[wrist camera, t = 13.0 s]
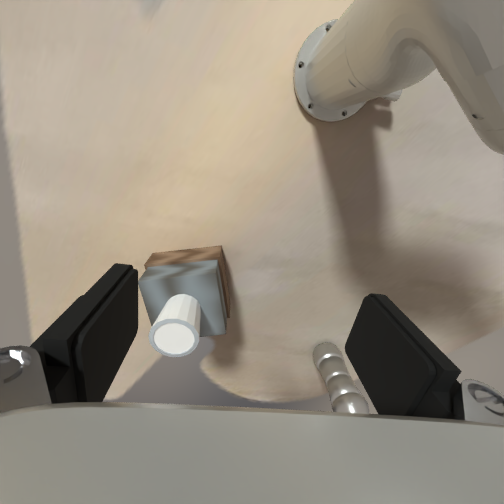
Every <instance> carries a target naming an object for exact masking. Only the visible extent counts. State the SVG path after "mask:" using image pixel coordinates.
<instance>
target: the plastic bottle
mask: <svg viewBox="0 0 504 504" xmlns="http://www.w3.org/2000/svg"><path fill="white" fill-rule="evenodd" d="M313 359H314V363H315V365H316V367H317V368H318V370H319V371H320V373H321V375H322V377H323V379H324V381H325V383H326V386H327V389H328V392H329V396H330V400H331V405H332V409H333V412H344V413H361V414H369V407H368V403H367V401H366V400H365V398H364V397H363V395H362V394H361V392H360V391H359V390H358V388H357V387H356V385H355V383H354V381H353V380H352V378H351V376H350V375H349V372H348V370H347V367H346V365H345V362H344V358H343V355H342V352H341V351H340V350H339V348H338V347H337V346H336V345H334V344H331V343H322V344H319V345H318V346H317V347H316V348H315V349H314V352H313Z"/></svg>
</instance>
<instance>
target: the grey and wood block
mask: <svg viewBox="0 0 504 504" xmlns="http://www.w3.org/2000/svg"><path fill="white" fill-rule="evenodd" d="M144 266H145V269H146V271H145V272H144V274H143V275H142V276H141V278H140V279H139V281H138V284H139V287H140V291H141V294H142V297H143V300H144V303H145V306H146V310H147V313H148V316H149V319H150V322H151V326H153V324H154V323H155V321H156V319H157V318H158V316H159V314H160V313H161V311H162V309H163V308H164V306H165V304H166V303H167V301H168V300H169V299H170V298H171V297H173V296H175V295H178V294H186V295H189V296H192V297H194V298H195V299H196V300H197V301H198V303H199V304H200V309H201V314H200V335H199V337H204V336H212V335H221V334H226V322H227V318H230V299H229V292H228V286H227V279H226V273H225V266H224V259H223V253H222V246H214V247H205V248H196V249H187V250H178V251H169V252H160V253H153V254H152V255H151V256H150V258H149V259H148V260H147V262H146V263H145V265H144Z"/></svg>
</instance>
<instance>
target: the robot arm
mask: <svg viewBox="0 0 504 504" xmlns="http://www.w3.org/2000/svg"><path fill="white" fill-rule="evenodd" d="M325 29H327V30H328V32H326V30H325ZM299 65H301V68H299V67H298V66H299ZM436 68H437V69H438V71H439V73H440V75H441V76H442V78H443V80H444V81H446V82H447V84H448V86H449V87H450V89H451V91H452V93H453V94H454V96H455V98H456V99H457V101H458V103H459V105H460V106H461V108H462V110H463V112H464V113H465V115H466V117H467V118H468V120H469V122H470V123H471V125H472V126H473V128H474V130H475V131H476V133H477V134H478V136H479V137H480V138H481V140H482V141H483V142H484V143H485V144H486V145H487V146H488V147H489V148H490V149H492V150H493V151H495V152H497V153H500V154H503V155H504V0H354V1H353V3H352V4H351V5H350V6H349V7H348V8H347V10H346V11H345V12H344V13H343V14H342V16H341V17H340V18H339V19H335V20H331V21H329V22H326V23H324V24H322V25H321V26H319V27H318V28H316V29H315V30H314V31H313V32H312V33H311V34H310V35H309V36H308V38H307V39H306V40H305V42H304V43H303V45H302V47H301V48H300V51H299V53H298V56H297V58H296V62H295V66H294V75H293V80H294V89H295V92H296V96H297V98H298V100H299V103H300V104H301V106H302V107H303V109H304V110H305V111H306V112H307V113H308V114H309V115H311V116H312V117H314V118H316V119H318V120H321V121H327V122H333V121H339V120H343V119H346V118H348V117H350V116H352V115H353V114H355V113H356V112H357V111H358V110H359V109H360V108H361V107H362V106H364V104H365V103H366V102H367V101H368V100H371V99H376V98H377V97H381V98H383V99H385V100H390V101H394V102H395V101H397V100H398V99H399V97H400V96H401V93H402V89H405V88H407V87H410V86H412V85H414V84H416V83H418V82H419V81H421V80H422V79H424V78H425V77H426V76H428V75H429V74H430V73H431V72H432V71H434V70H435V69H436ZM309 105H310V106H311V108H310V109H309V108H308V106H309ZM342 112H343V113H344V115H343V116H342ZM137 330H138V271H137V269H133V266H132V265H126V264H118V263H116V264H114V265H113V266H112V267H111V268H110V269H109V270H108V271H107V272H106V273H105V274H104V275H103V276H102V277H101V278H100V279H99V280H98V281H97V282H96V283H95V284H94V285H93V286H92V287H91V288H90V289H89V290H88V291H87V292H86V294H85V295H82V296H80V297H79V298H78V299H77V300H76V301H75V302H74V303H73V304H72V305H71V306H70V307H69V308H68V309H67V310H66V311H65V312H64V313H63V314H62V315H61V316H60V317H59V318H58V319H57V320H56V321H55V322H54V323H53V324H52V325H51V326H50V327H49V328H48V329H47V330H46V331H45V332H44V333H43V334H42V335H41V336H40V337H39V338H38V339H37V340H36V341H35V342H34V343H33V344H32V345H31V346H30V347H28V346H9V347H4V348H0V504H504V395H503V394H501V393H500V392H499V391H497V390H495V389H494V388H492V387H490V386H489V385H487V384H484V383H482V382H479V381H476V380H472V379H466V380H464V381H462V383H461V384H460V383H459V382H458V381H457V380H456V379H457V377H458V376H459V374H460V373H461V371H460V369H458V368H457V366H455V365H454V363H452V361H451V360H450V359H448V357H447V356H446V355H445V354H444V353H443V352H442V351H441V350H440V349H439V348H438V347H437V346H436V345H435V344H434V343H433V342H432V341H431V340H430V339H429V338H428V337H427V336H426V335H425V334H424V333H423V332H422V331H421V330H420V329H419V328H418V327H417V326H416V325H415V324H414V323H413V322H412V321H411V320H410V319H409V318H408V317H407V316H406V315H405V314H404V313H403V312H402V311H401V310H400V309H399V308H398V307H397V306H396V305H395V304H394V303H393V302H392V301H391V300H390V299H389V298H388V297H387V296H385V295H381V294H372V293H371V294H369V295H368V296H366V297H365V298H364V299H363V302H362V304H361V307H360V309H359V312H358V314H357V317H356V319H355V322H354V324H353V327H352V329H351V332H350V334H349V337H348V339H347V342H346V344H345V352H346V354H347V356H348V358H349V360H350V362H351V364H352V365H353V367H354V369H355V371H356V373H357V375H358V377H359V379H360V380H361V382H362V384H363V386H364V388H365V390H366V392H367V393H368V395H369V397H370V399H371V401H372V403H373V405H374V407H375V408H376V410H377V412H378V414H379V415H378V414H361V413H344V412H325V411H306V410H286V409H285V410H284V409H266V408H247V407H225V406H202V405H182V404H181V405H180V404H157V403H155V404H154V403H122V402H121V403H120V402H102V401H103V399H104V397H105V395H106V393H107V391H108V389H109V388H110V386H111V384H112V382H113V380H114V378H115V376H116V374H117V372H118V370H119V368H120V366H121V364H122V362H123V360H124V358H125V356H126V354H127V352H128V350H129V348H130V346H131V344H132V342H133V340H134V338H135V336H136V334H137Z"/></svg>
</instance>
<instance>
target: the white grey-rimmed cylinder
mask: <svg viewBox="0 0 504 504" xmlns="http://www.w3.org/2000/svg"><path fill="white" fill-rule="evenodd" d="M200 314H201V309H200V304H199V303H198V301H197V300H196V299H195V298H194V297H192V296H189V295H186V294H178V295H175V296H173V297H171V298H170V299H169V300H168V301H167V303H166V304H165V306H164V308H163V309H162V311H161V313H160V314H159V316H158V318H157V319H156V321H155V323H154V324H153V326H152V328H151V330H150V333H149V341H150V344H151V345H152V347H153V348H154V349H155V350H156V351H158V352H159V353H161V354H162V355H166V356H170V357H182V356H185V355H188V354H190V353H191V352H192V351H194V350H195V349H196V347H197V345H198V343H199V335H200Z"/></svg>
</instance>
